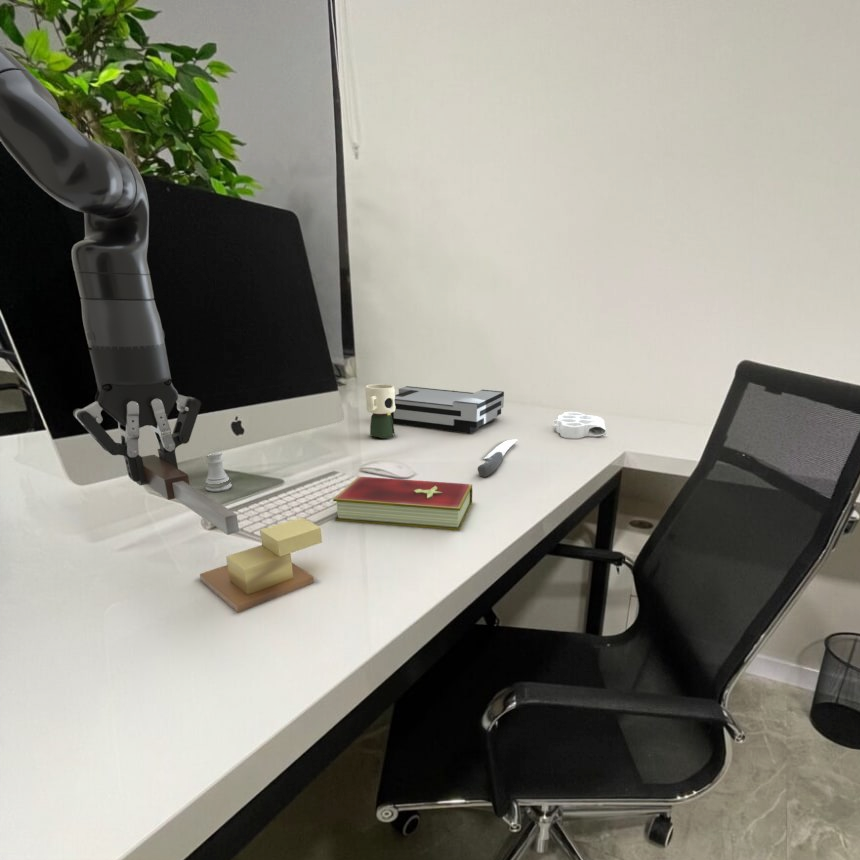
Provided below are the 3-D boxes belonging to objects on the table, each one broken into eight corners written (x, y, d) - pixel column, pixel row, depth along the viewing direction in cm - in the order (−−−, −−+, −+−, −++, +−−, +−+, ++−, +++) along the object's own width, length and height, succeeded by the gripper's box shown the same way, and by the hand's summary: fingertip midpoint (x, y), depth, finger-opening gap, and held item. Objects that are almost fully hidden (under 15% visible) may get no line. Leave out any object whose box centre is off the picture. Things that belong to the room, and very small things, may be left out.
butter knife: (220, 537, 56) (217, 513, 55) (136, 477, 71) (131, 458, 70) (246, 529, 58) (242, 506, 57) (158, 473, 73) (154, 454, 72)
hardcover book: (360, 495, 102) (359, 474, 101) (472, 503, 100) (472, 482, 99) (335, 521, 91) (332, 497, 90) (459, 530, 89) (459, 506, 87)
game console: (407, 408, 174) (406, 382, 171) (503, 419, 164) (504, 391, 161) (371, 422, 155) (370, 393, 152) (476, 435, 145) (476, 404, 142)
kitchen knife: (499, 437, 140) (517, 433, 139) (501, 447, 141) (520, 443, 140) (466, 469, 114) (488, 464, 112) (469, 480, 114) (492, 476, 113)
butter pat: (279, 557, 69) (277, 541, 69) (261, 545, 72) (259, 529, 72) (322, 542, 74) (320, 527, 73) (303, 531, 77) (301, 517, 76)
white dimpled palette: (605, 440, 144) (549, 437, 146) (603, 425, 161) (552, 422, 162) (606, 428, 143) (550, 424, 145) (604, 413, 160) (553, 410, 161)
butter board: (238, 613, 65) (232, 580, 64) (200, 580, 72) (194, 549, 71) (314, 583, 72) (311, 552, 71) (273, 555, 79) (269, 527, 78)
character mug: (386, 443, 135) (384, 390, 131) (360, 441, 137) (356, 388, 132) (403, 433, 145) (402, 383, 140) (378, 431, 147) (376, 381, 142)
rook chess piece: (203, 487, 104) (195, 446, 101) (228, 483, 106) (222, 443, 103) (209, 494, 100) (202, 452, 97) (235, 489, 103) (229, 448, 100)
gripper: (179, 335, 71) (200, 463, 77) (44, 340, 61) (81, 486, 68) (203, 340, 67) (223, 476, 73) (61, 346, 57) (99, 502, 63)
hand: (155, 480), depth 70 cm, fingers closed on butter knife, 2 cm apart
